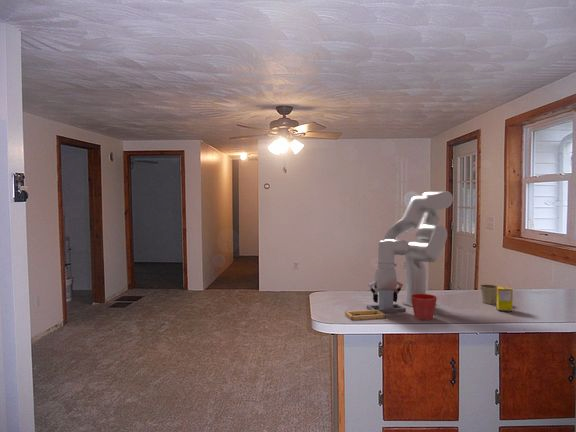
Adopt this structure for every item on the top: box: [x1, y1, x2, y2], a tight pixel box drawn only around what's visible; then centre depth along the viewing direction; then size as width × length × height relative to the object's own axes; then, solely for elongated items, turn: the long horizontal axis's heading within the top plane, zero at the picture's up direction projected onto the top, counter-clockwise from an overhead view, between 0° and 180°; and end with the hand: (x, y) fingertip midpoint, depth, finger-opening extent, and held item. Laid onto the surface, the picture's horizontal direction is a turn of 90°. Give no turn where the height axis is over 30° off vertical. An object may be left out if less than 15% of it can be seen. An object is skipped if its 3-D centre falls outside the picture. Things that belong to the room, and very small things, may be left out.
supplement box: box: [496, 285, 514, 313], centre depth 189 cm, size 6×6×11 cm
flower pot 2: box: [478, 283, 498, 305], centre depth 204 cm, size 9×9×9 cm
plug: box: [378, 290, 394, 309], centre depth 190 cm, size 5×5×11 cm
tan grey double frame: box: [344, 303, 407, 321], centre depth 185 cm, size 30×16×2 cm, turn 102°
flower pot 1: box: [411, 293, 438, 321], centre depth 178 cm, size 11×11×10 cm
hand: (385, 301), depth 190 cm, fingers open, 9 cm apart
